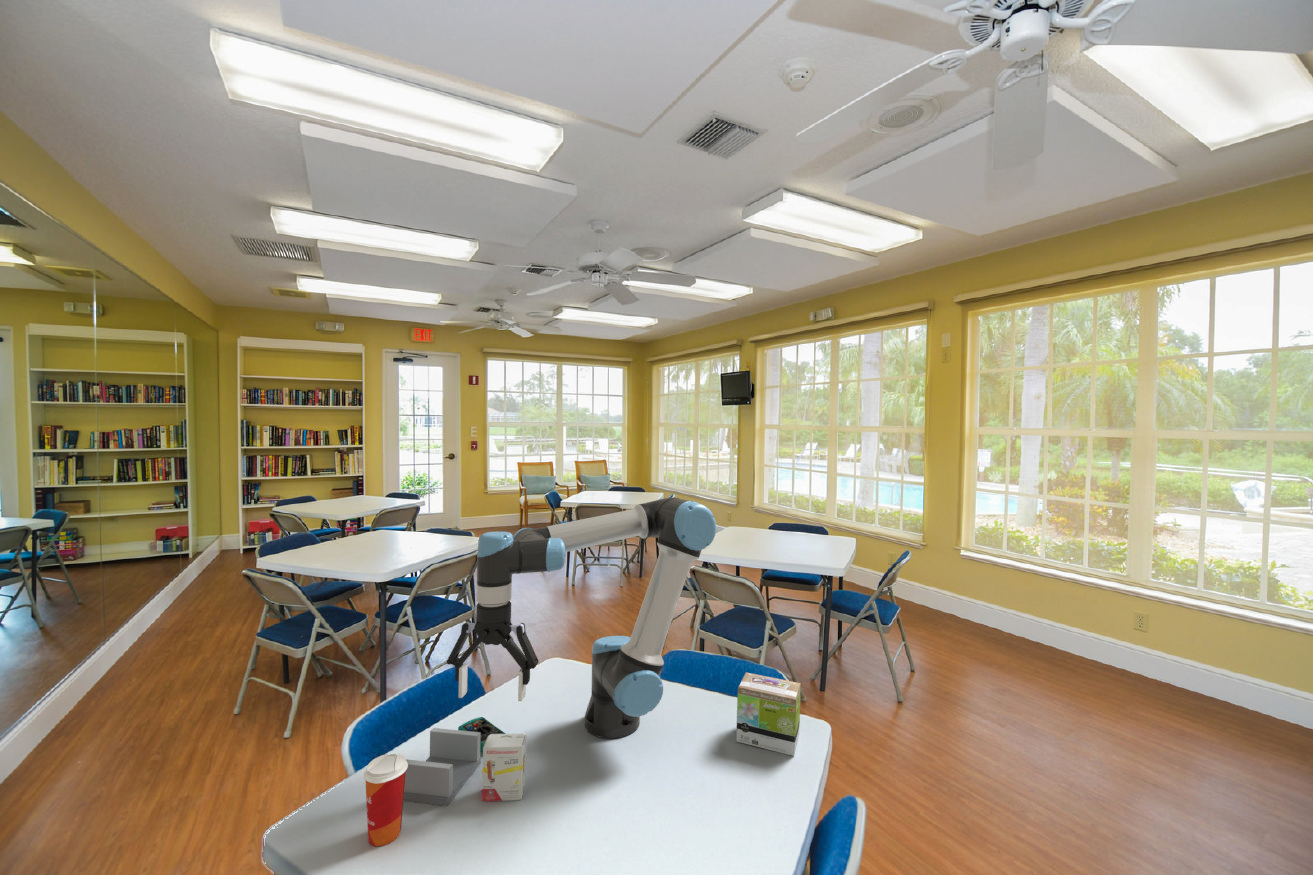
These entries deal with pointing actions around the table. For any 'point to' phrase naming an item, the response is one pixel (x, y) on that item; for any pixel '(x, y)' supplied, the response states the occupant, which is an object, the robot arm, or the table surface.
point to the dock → (443, 767)
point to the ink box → (503, 767)
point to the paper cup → (385, 797)
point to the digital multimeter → (480, 729)
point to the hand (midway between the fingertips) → (492, 696)
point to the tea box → (768, 713)
